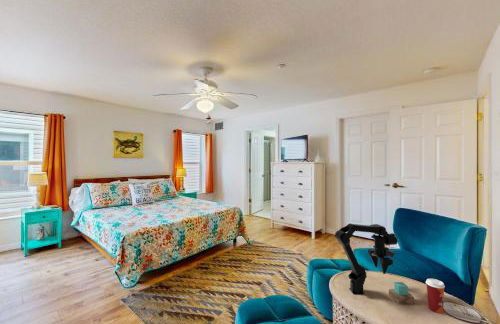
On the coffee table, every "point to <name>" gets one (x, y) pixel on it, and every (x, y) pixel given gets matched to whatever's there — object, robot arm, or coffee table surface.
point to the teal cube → (400, 288)
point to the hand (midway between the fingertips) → (380, 270)
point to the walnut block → (401, 297)
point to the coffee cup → (435, 295)
